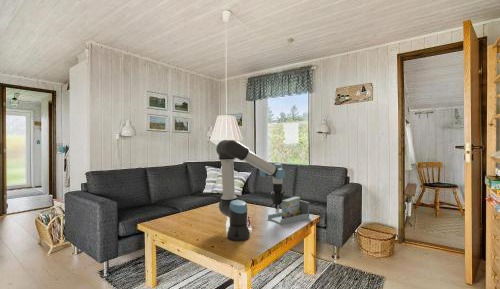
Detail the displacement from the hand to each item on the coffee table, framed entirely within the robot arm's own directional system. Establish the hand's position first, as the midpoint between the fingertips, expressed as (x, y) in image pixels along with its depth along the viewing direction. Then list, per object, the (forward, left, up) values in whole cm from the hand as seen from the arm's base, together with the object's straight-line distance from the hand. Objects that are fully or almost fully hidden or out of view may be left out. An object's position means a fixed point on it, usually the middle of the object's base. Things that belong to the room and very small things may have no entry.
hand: (277, 212), depth 204 cm
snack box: (+15, 0, -6) cm, 16 cm away
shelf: (+12, 0, -7) cm, 14 cm away
